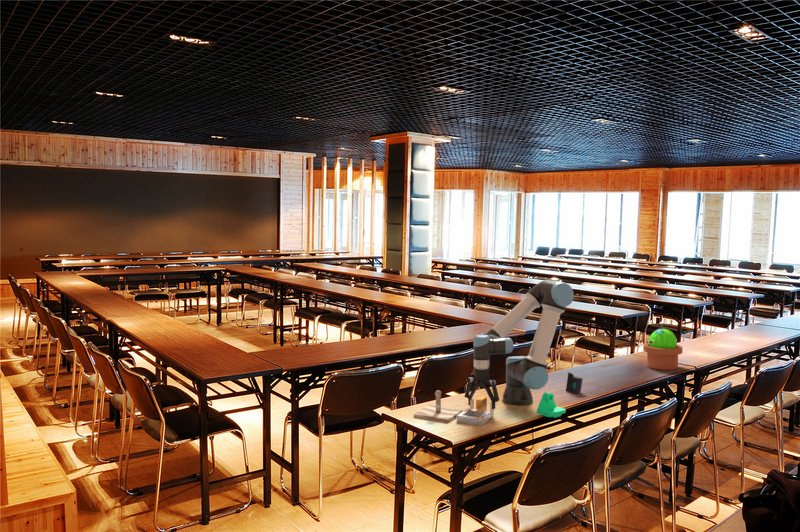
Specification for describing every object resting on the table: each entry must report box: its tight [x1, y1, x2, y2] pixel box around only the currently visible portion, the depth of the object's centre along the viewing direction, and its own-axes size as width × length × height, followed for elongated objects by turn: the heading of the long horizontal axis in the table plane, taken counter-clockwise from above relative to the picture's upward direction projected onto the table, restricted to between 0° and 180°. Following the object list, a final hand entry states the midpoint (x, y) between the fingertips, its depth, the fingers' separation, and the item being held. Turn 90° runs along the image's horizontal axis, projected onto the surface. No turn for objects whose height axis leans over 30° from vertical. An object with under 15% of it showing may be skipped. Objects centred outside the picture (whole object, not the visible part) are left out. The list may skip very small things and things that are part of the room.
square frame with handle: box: [456, 395, 492, 427], centre depth 274 cm, size 18×12×8 cm, turn 150°
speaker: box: [565, 371, 583, 394], centre depth 314 cm, size 8×6×10 cm
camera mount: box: [536, 391, 567, 419], centre depth 278 cm, size 12×8×10 cm, turn 123°
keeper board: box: [413, 389, 464, 424], centre depth 279 cm, size 16×18×12 cm
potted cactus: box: [642, 328, 683, 371], centre depth 367 cm, size 22×22×25 cm
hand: (481, 413), depth 280 cm, fingers open, 9 cm apart
